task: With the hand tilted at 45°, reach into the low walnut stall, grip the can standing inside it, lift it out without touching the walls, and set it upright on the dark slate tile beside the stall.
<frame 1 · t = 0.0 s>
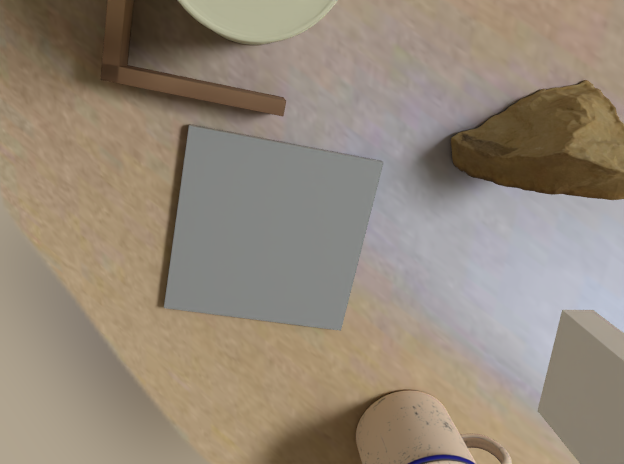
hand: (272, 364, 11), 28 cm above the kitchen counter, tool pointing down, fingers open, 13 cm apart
teacup with lid: (416, 424, 48), on the kitchen counter
slate tile: (270, 234, 40), on the kitchen counter
rock: (515, 125, 40), on the kitchen counter
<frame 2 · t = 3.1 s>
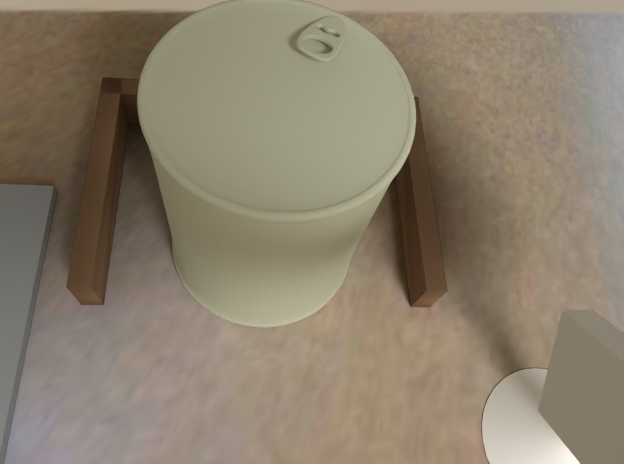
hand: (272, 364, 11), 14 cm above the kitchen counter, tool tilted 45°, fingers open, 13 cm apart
walnut stall: (263, 241, 28), on the kitchen counter
can: (263, 243, 28), on the kitchen counter
champagne flute: (547, 439, 25), on the kitchen counter
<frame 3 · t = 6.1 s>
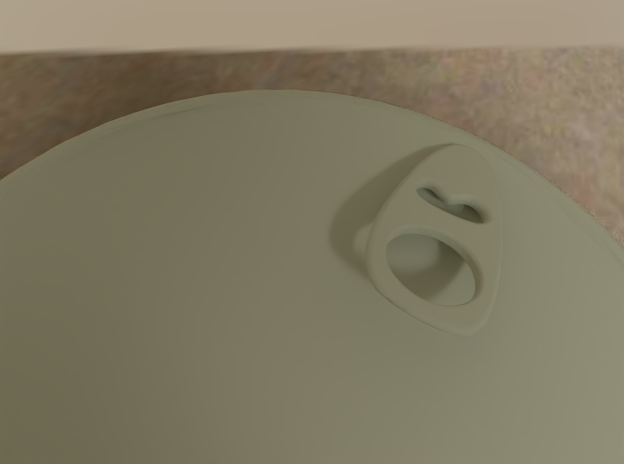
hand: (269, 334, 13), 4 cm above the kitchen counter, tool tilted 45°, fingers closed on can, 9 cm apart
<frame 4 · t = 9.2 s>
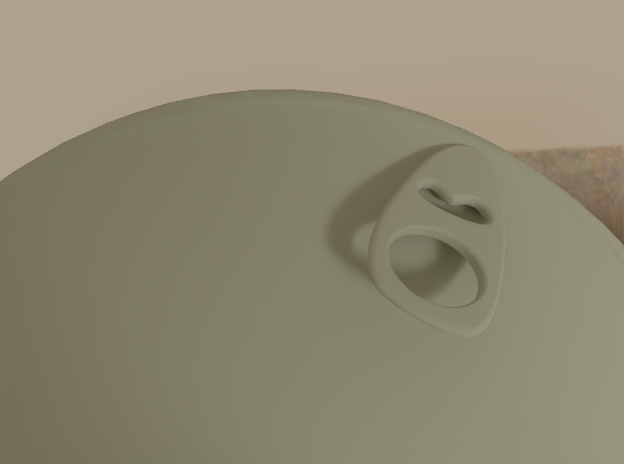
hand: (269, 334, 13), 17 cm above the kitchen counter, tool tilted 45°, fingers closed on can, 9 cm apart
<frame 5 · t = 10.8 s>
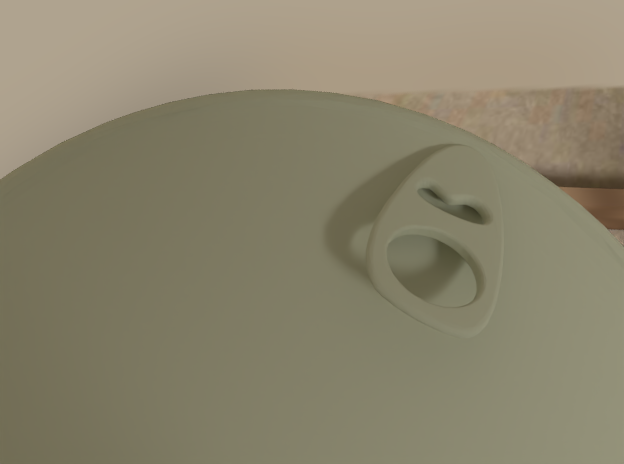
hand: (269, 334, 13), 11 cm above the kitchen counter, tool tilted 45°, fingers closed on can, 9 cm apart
when the fingers open (6 cm above the kitchen counter, at t = 12.3 s): can drops 1 cm, resting on slate tile.
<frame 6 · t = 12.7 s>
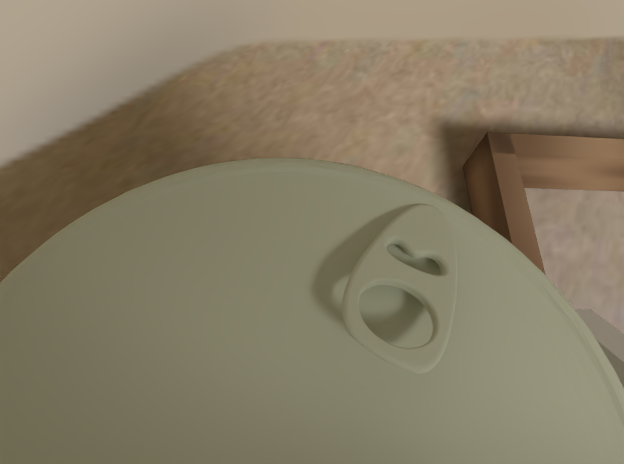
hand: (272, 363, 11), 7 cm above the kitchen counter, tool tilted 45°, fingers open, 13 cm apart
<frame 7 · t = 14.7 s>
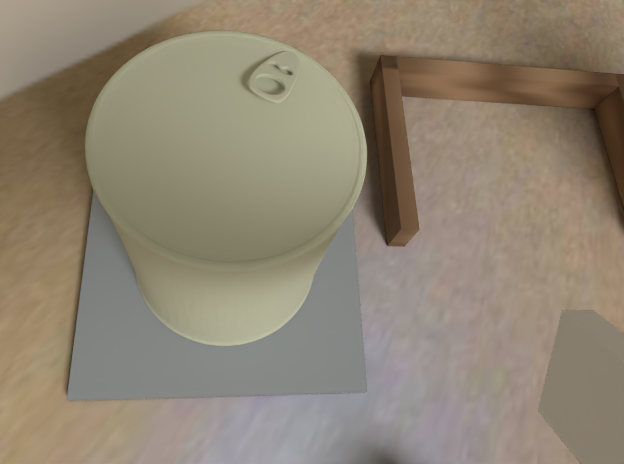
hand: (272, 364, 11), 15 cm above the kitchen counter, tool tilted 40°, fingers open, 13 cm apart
walnut stall: (513, 195, 33), on the kitchen counter
can: (227, 259, 28), resting on slate tile
slate tile: (226, 260, 28), on the kitchen counter
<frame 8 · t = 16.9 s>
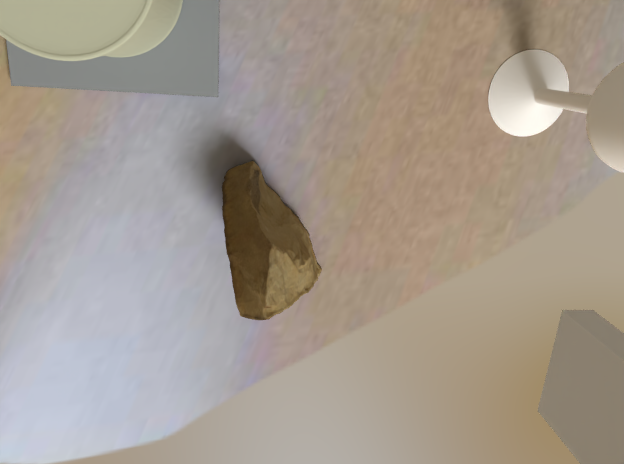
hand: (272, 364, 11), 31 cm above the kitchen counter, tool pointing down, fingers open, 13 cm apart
rock: (272, 220, 43), on the kitchen counter
champagne flute: (527, 93, 42), on the kitchen counter
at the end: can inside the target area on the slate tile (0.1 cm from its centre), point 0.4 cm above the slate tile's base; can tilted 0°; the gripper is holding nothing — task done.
